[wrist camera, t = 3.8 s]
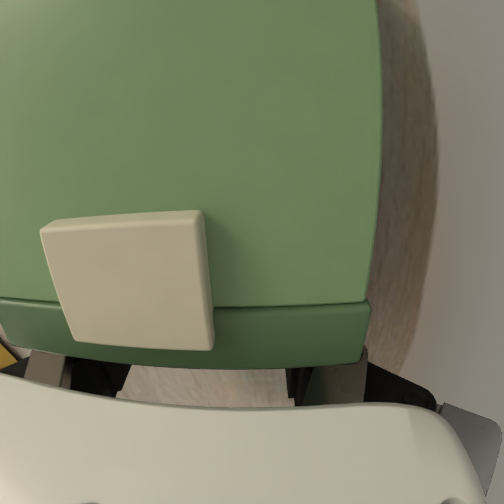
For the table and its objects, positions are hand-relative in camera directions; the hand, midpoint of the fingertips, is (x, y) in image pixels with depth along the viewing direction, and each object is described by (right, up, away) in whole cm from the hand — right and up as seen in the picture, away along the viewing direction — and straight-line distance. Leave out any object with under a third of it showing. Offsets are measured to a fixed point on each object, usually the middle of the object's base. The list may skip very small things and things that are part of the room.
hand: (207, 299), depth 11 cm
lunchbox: (0, +12, -8) cm, 15 cm away
